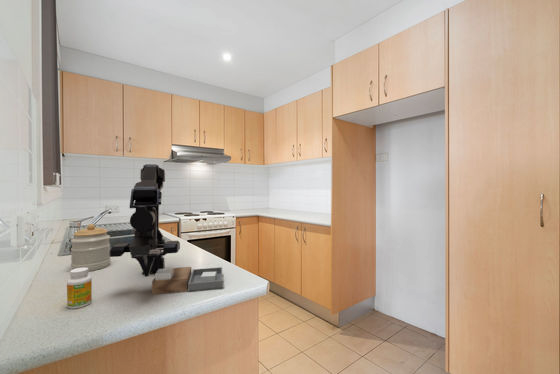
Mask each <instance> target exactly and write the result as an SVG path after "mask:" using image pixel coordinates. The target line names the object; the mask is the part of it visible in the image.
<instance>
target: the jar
mask: <svg viewBox="0 0 560 374" xmlns="http://www.w3.org/2000/svg"><path fill="white" fill-rule="evenodd" d="M108 231H109V230H107V229H105V228H103V227H96V226H95V224H94V223H89V224H88V225H87V226H86V228H84V229H83V228H82V229H79V230H77V231H76V232H74V233H73V236H74V237H73V238H72V239H70V242H71V243H72V245H71V248H70V251H71V262H70V268H71V270H73V269H77V268H88V272H93V271H97V270H102V269H105V268H107V267H109V266H110V265H111V262H112V261H111V258H112V257H110V254H109V251H110V248H111V243H110V241H109V240H110V238H111V235H110V234H108Z"/></svg>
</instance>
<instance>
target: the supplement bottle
mask: <svg viewBox="0 0 560 374" xmlns="http://www.w3.org/2000/svg"><path fill="white" fill-rule="evenodd" d="M69 276H70V278H68V280H67V281H66V305H67V308H68V309H72V310H73V309H80V308H83V307H86V306H89V305H90V304H91V303H92V295H93V293H92V288H93V287H92V276H91V275H89V271H88V268H77V269H73V270H72V269H70V271H69Z"/></svg>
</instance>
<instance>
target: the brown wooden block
mask: <svg viewBox="0 0 560 374" xmlns="http://www.w3.org/2000/svg"><path fill="white" fill-rule="evenodd" d="M173 268H174V275H173V276H172V278H171V279H166V280H155V277H154V278H153V279H152V281H151V294H152V296H153V295H162V294H163V295H166V294H172V293H173V294H174V293H175V292H176V293H183V292H188V282H189V279H190V276H191V273H192V266H185V267H183V266H181V267H173ZM166 269H168V268H166Z"/></svg>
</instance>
